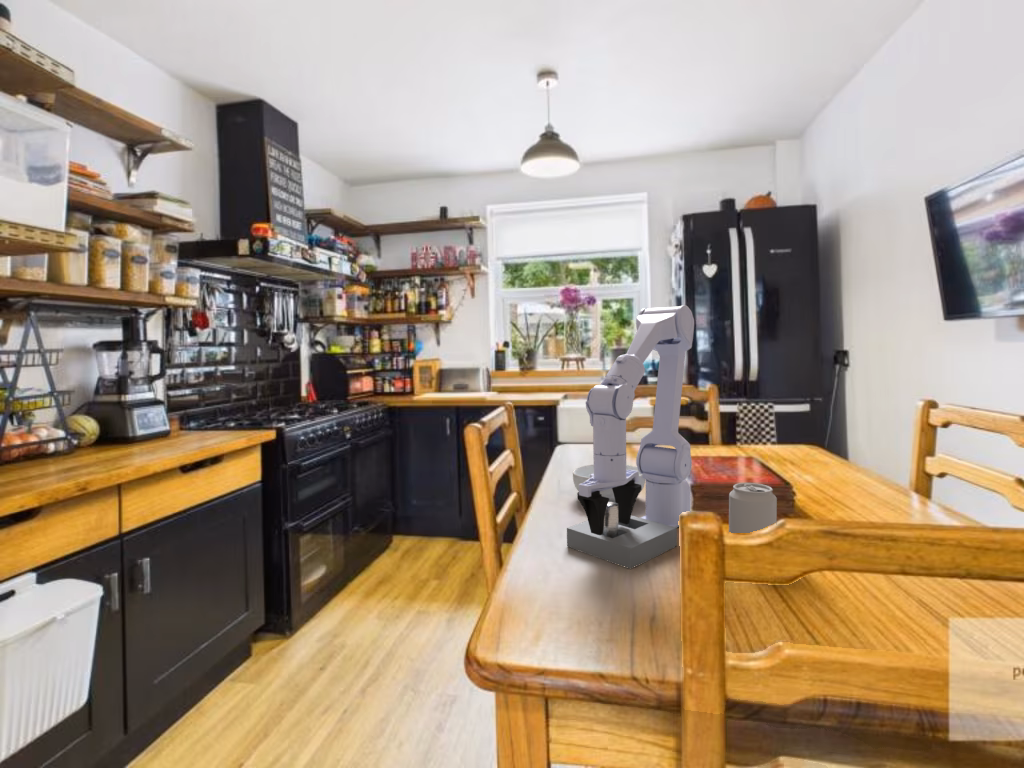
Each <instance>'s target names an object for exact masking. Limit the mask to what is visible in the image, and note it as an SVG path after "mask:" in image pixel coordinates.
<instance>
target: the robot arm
mask: <svg viewBox="0 0 1024 768" xmlns="http://www.w3.org/2000/svg"><path fill="white" fill-rule="evenodd" d="M635 321H636V322H635V324H636V325H635V328H636V333H635V335H634V337H633V338H632V341H631V343H630V345H629V347H628V349H627V352H626V353H625V354H621V355H618V356H617V358H616V359H615V361H614V362H613V363H612V365H611V367H610V368H609V370H608V372H607V374H605V377H604V378H603V379H602V381H601V382H600V384H596V385H595V386H593V387H592V388H591V389H590V390H589V391H588V394H587V397H586V401H585V408H586V411H587V413H588V415H589V424H590V426H591V427H592V437H593V439H592V441H593V442H592V444H593V445H592V448H593V449H592V450H593V451H592V452H593V464H594V473H593V474H590V479H588V480H587V481H585V482H584V483H581V484H579V491H577V495H576V496H577V500H578V502H579V503H580V504H581V506H582V508H583V510H584V513H585V516H586V518H587V520H588V522H589V526H590V530H591V533H594V534H597V535H602V534H603V530H604V516H605V511H606V507H607V504H608V501H609V498H606V497H602V494H600V492H601V491H604V490H607V489H611V488H612V490H613V493H614V497H615V502H616V503H617V504H618V505H619V515H618V522H619V523H623V524H626V525H627V524H629V522H630V518H631V516H632V514H633V510H634V506H635V503H636V501H637V499H638V496H639V495H640V493H641V492H642V491H641V485H640V484H635V482H638V481H639V472H640V473H641V474H642V478H643V479H645V515H643V516H641V517H639V518H643V519H646V520H650V521H654V522H658V523H661V524H665V525H669V526H673V527H676V528H678V527H680V526H679V525H678V521H679V515H680V514H681V513H682V512H686V511H690V512H691V487H690V484H689V482H688V480H686V479H687V478H688V477H690V473H691V471H692V467H693V466H692V463H693V462H692V457H691V454H692V453H691V450H692V449H691V448H692V447H691V443H690V442H688V440H687V439H685V437H683V436H682V435H681V433H679V423H680V415H681V414H680V413H681V402H682V395H683V394H682V391H683V383H684V381H683V380H684V371H685V362H686V361H685V360H686V352H687V351H689V350H690V349H692V347H693V342H694V340H693V339H694V333H695V331H694V330H695V319H694V315H693V312H692V310H691V309H690V308H689V306H687V305H685V304H683V305H679V306H665V307H651V308H648V307H643V308H641V309H640V311H639V313H638V315H637V317H636V320H635ZM653 351H656V353H658V356H659V361H658V362H659V363H658V372H657V380H656V381H657V382H656V391H655V401H654V412H653V413H654V414H653V421H652V422H653V423H652V431H650V432H649V433H647V434H646V435H645V436H643V437H642V438H641V440H640V444H639V448H638V452H637V453H636V457H635V458H636V459H635V464H636V467H637V468H638V471H635V470H626V465H627V418H628V417H629V416H630V414H631V413H632V411H633V406H634V399H635V397H636V394H635V390H636V389H637V388H638V385H639V383H640V382H641V380H642V378H643V376H644V374H645V373H646V372H645V371H646V368H645V365H644V363H645V361H646V360H647V359H648V357H649V356H650V354H651V353H652V352H653ZM657 445H663V446H664V447H662V446H657ZM665 446H671V448H670V447H665ZM672 447H673V448H672ZM640 491H641V492H640Z"/></svg>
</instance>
